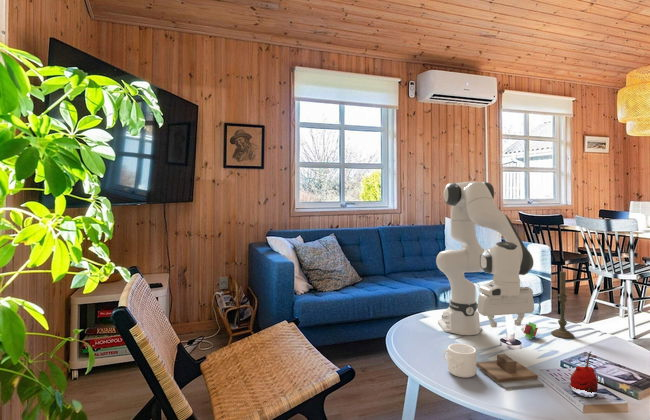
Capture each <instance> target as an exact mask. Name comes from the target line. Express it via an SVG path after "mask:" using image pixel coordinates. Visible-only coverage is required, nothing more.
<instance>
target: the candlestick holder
mask: <svg viewBox="0 0 650 420" xmlns="http://www.w3.org/2000/svg"><path fill="white" fill-rule="evenodd" d="M566 274H567V273H566V271H564V270H562V271H559V293H558V294H557V297H558V302H559V303H560V304H559V305H560V306H559V309H560V318H559V319H558V320H557V323H558V325H559V328H556V329H554V330H551V332H550V334H551V336H553V337H556V338H560V339H564V338H565V339H566V340H567V339H568V340H569V339H573V338H575V334H574V333H572V332H570V330H567V329H566V326H567V323H568V321H567V320H566V319H565V309H566V304H565V303H566V302H568V301H567V300H568V299H567V298H568V295H567V294H566V284H567V283H566ZM565 339H564V340H565Z"/></svg>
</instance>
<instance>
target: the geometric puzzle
mask: <svg viewBox="0 0 650 420" xmlns="http://www.w3.org/2000/svg"><path fill="white" fill-rule="evenodd" d="M520 330H521V332H522V334H524V337H526V338H528V339H531V340H533V339H534V338H536V337H538V335H537V334H540V331H538V330H539V327H538V326H537V324H535V323H532V322H530V321H528V323H527V324H526V323H525V324H521V329H520ZM538 332H539V333H538ZM536 335H537V336H536Z"/></svg>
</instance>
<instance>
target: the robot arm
mask: <svg viewBox="0 0 650 420" xmlns="http://www.w3.org/2000/svg"><path fill="white" fill-rule="evenodd" d="M442 197H443V199H444V203H445V204H446V205H448V206H451V208H450V235H451V238H452V239H453V240H454V241H456V242H458V243H460V244H461V245H460V246H461V249H447V250H442V251H439V253H438V254H437V256H436V259H435V263H436V266H437V269H438V270H439V271H440V272H442V273H443V274H444V275H445V276H446V278H447V279H448V282H449V285H450V291H451V292H450V297H451V299H450V300H449V301H448V302H449V306H448V307H447V308H446V309H445V310H444V311H443V312H442V314H441V319H438V320H437V323H438V325H439V326H440V327H441V328H442V330H443V331H444V332H446V333H451V334H457V335H463V336H474V335H478V334H479V333H480V332H481V331H482V330H483V327H482V326H481V325H480V323H481V322H480V315H482V316H484V317H487V319H488V320H489V321H490V322H489V323H490V327H491V328H497V327H498V322H496V321H495V320H494V319H495V316H504V315H505V316H506V315H508V316H509V315H517V317H516V319H514V321H513V322H514V323H513V324H514V325H515V327H517V326H518V327H520V326H521V327H522V321H523V320H524V318H525V314H532V313H534V312H535V302H534V291H533V290H532V288H530V287H529V286H521V278H520V276H525V275H526V274H528V273H529V272H531V270H532V268H533V267H534V258H533V255H532V254H531V252H530V250H529V249H528V248H527V247H526V245H525V244H524V243H523V241H522V239H521V237H520V235H519V234H518V231H517V230H516V228H515V226H514V223H512V220H511V219H510V218H509V216H508V215H507V214H505V213H503V212H502V211H501V210H500V209H499V208H498V207H497V205H496V204H495V201H494V198H495V189H494V186H493V185H492V183H490V182H487V181H464V182H462V181H461V182H451V183H447V184H446V185H445V187H444V188H443V195H442ZM476 225H477V226H480V227H482V228H487V229H491V230H493V231H496V232H498V233H499V234H500V235H501V236H502V237H503V239H504V241H498V242H496V243H495V244H494V246H493V247H491V248H486V249H484V248H483V247H482V246H481V245H480V243H479V241H478V238H477V232H476ZM479 272H485V273H487V274H490V275H493V276H492V281H489V282H487V283H484V284H482V285H480V286H479V292H480V293H479V295H478V298H477V294H476V293H477V291H476V290H477V288H476V285H475V284H474V282H472V281H470V280H469V279H467V278H466V276H465V273H479ZM476 299H477V300H476Z"/></svg>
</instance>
